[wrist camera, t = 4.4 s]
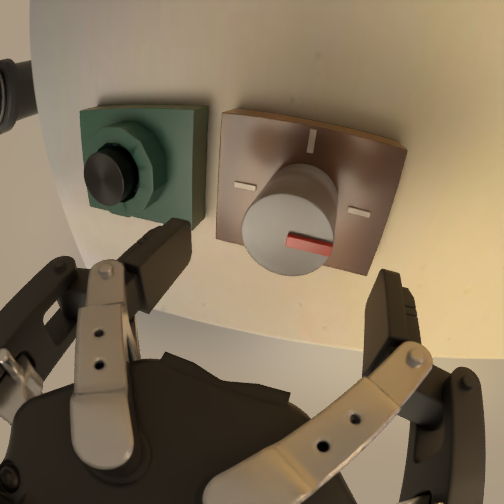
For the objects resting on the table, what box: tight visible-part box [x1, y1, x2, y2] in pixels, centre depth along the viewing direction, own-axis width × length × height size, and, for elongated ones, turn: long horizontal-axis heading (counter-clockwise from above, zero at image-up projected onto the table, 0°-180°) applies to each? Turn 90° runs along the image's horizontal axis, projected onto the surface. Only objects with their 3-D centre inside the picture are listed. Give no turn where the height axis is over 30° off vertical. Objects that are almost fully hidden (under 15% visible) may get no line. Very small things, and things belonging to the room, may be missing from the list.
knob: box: [241, 163, 338, 276], centre depth 15 cm, size 4×4×5 cm
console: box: [80, 104, 208, 230], centre depth 20 cm, size 11×9×4 cm
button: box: [84, 146, 139, 206], centre depth 18 cm, size 4×4×2 cm
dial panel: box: [216, 109, 407, 276], centre depth 18 cm, size 11×9×3 cm
